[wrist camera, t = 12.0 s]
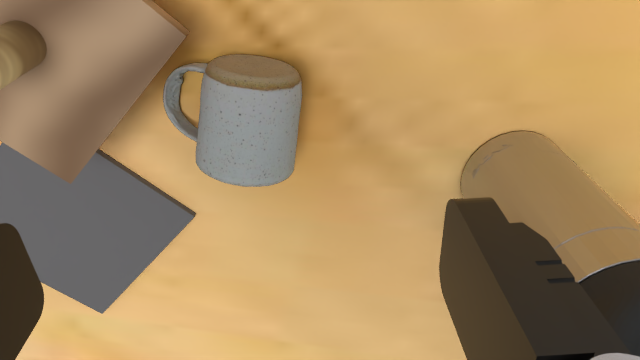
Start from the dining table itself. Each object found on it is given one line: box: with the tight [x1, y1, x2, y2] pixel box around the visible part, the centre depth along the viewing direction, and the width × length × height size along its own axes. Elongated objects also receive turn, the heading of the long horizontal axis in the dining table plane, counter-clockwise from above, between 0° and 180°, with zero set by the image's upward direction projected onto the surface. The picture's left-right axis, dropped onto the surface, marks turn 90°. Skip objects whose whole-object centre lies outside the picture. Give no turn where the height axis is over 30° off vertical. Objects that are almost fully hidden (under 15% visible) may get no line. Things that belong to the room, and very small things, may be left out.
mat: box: [0, 142, 196, 314], centre depth 44 cm, size 16×16×1 cm
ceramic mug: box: [163, 54, 302, 187], centre depth 36 cm, size 11×8×8 cm
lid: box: [0, 0, 190, 184], centre depth 27 cm, size 14×14×7 cm
